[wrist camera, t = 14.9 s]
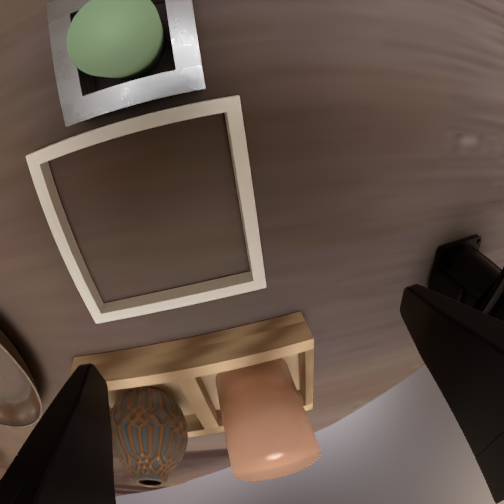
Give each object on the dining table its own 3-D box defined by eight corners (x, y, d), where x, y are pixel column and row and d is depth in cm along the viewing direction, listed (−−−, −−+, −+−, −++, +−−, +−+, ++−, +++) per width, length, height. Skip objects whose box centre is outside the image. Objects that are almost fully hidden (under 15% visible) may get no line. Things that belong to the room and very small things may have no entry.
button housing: (185, -20, 12) (186, -39, 9) (202, 88, 15) (205, 88, 13) (66, 14, 11) (46, 3, 8) (83, 120, 15) (65, 127, 12)
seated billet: (286, 344, 25) (323, 437, 17) (289, 387, 28) (318, 466, 21) (207, 363, 24) (224, 462, 17) (223, 403, 28) (241, 486, 20)
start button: (160, 5, 12) (153, -21, 8) (170, 68, 14) (166, 61, 10) (90, 25, 12) (62, 8, 8) (100, 88, 14) (73, 89, 10)
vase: (187, 415, 28) (197, 493, 20) (120, 416, 26) (119, 493, 19) (181, 375, 24) (190, 468, 17) (102, 375, 23) (94, 466, 16)
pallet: (300, 311, 25) (314, 338, 22) (302, 385, 31) (312, 409, 28) (74, 357, 23) (67, 385, 20) (124, 419, 29) (123, 444, 26)
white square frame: (235, 95, 16) (239, 95, 15) (262, 277, 23) (266, 287, 22) (33, 151, 15) (25, 156, 14) (98, 313, 21) (96, 323, 20)
